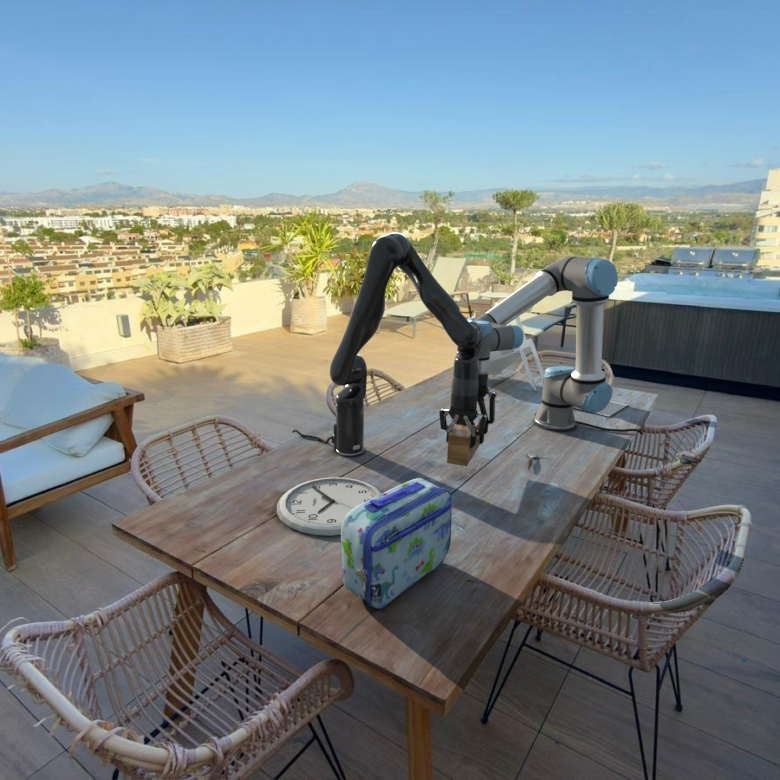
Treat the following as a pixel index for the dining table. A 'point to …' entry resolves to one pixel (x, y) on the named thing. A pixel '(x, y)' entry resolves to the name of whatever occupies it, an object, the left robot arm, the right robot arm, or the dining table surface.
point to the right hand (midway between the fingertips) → (471, 440)
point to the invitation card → (610, 408)
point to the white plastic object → (515, 358)
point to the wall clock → (323, 504)
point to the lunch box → (395, 540)
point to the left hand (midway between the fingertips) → (461, 445)
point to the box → (461, 445)
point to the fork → (531, 457)
